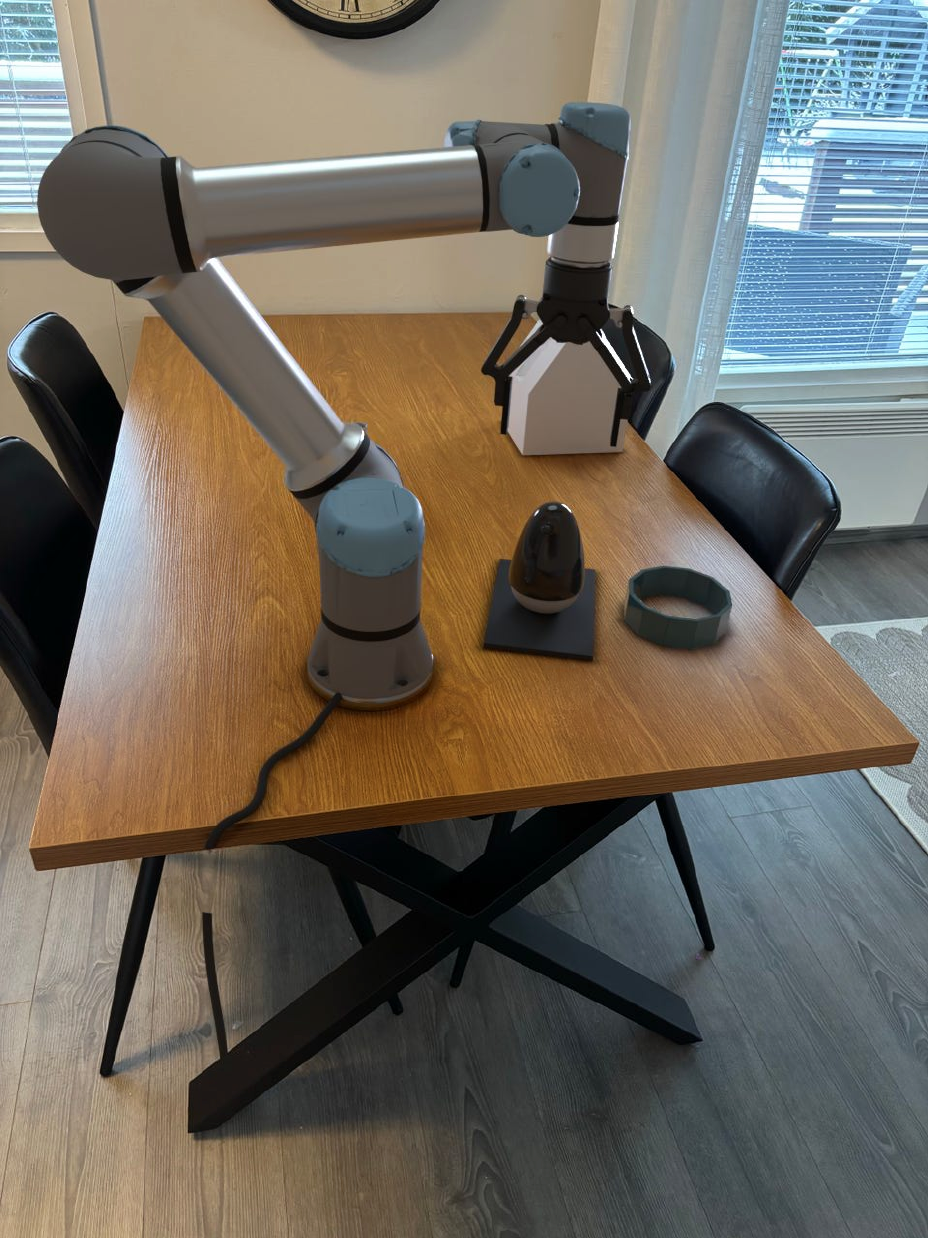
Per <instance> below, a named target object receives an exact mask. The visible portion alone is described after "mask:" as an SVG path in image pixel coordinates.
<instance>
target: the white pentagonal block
mask: <svg viewBox="0 0 928 1238" xmlns="http://www.w3.org/2000/svg"><path fill="white" fill-rule="evenodd" d="M542 324H543V323H542V322H541V320H540V318H539V319H538V320H537V322H536V323H535V325H534V326H533V327H532V329H531V330H530V331H529V333H528V335H527V336H526V337H525V338H524V340H523V342H522V343H521V344H520V346H521V345H522V344H523V343H524V342H526V341H527V340H528V339H529V338H530V337H531V336H532V335H533V334H534V333H535V332H536V330H537V329H538V328H539V327H540V326H541V325H542ZM601 330H602V332H603V333H604V330H603V327H602V328H601ZM604 335H605V333H604ZM605 337H606V335H605ZM606 338H607V337H606ZM509 376H511V377H513V381H512V392H511V403H510V415H509V426H508V430H507V434H509V437H511V440H512V441H513V442H514V444H515V446H516V447H517V449H518V450H519V452H520V454H521V456H543V455H570V454H571V455H573V454H574V455H575V454H599V453H600V454H603V453H622V452H624V446H625V439H626V433H627V426H628V420H629V419H628V420H626V419H620V426H619V432H618V439H617V445H616V447H613V446H610V437H611V431H612V424H613V418H614V411H615V404H616V398H617V391H618V388H621V386H620V385H619V383H618V382H617V380H616V379H615V377H614V376H613V374H612V373H611V371H610V370H609V368H608V367H607V365H606V364H605V362H604V361H603V359H602V358H601V356H600V355H599V353H598V352H597V351H596V350H595V349H594V347H593V346H592V344H591V343H590V341H589V342H587V343H584V344H583V345H577V344H574V343H571V342H566V343H557V342H556V341H555V340H553V339H552V338H551V337H550V338H549V339H548V340H547V341H546V342H545V343H544V344H543V345H541V346H540V347H539V348H538V349H537V350H535V351H534V352H533V353H532V354H531V355H530V356H529V357H528V358H527V359H526V360H525V361H524V362H523V363H522V364H521V365H520V366H519V367H518V368H517V369H516V370H515V371H514V372H512V373H511V374H510V375H509Z"/></svg>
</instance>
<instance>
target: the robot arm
mask: <svg viewBox="0 0 928 1238" xmlns="http://www.w3.org/2000/svg"><path fill="white" fill-rule="evenodd" d="M631 124H632V119H631V115H630V112H629V111H628V110H627V109H626V108H624V107H622V106H620V105H616V104H610V103H604V102H589V101H580V102H578V101H577V102H575V101H571V102H566V103H565V104H564V105H563V106H562V107H561V109H560V115H559V117H558V118H557V122H553V123H552V122H551V123H545V124H543V123H542V124H540V123H524V122H523V123H521V122H506V121H505V122H504V121H489V120H488V121H487V120H483V119H476V120H470V121H469V120H464V121H463V120H462V121H454V122H453V123H451V124H450V125H449V127H448V128H447V130H446V133H445V137H444V143H443V147H433V148H421V149H407V150H397V151H384V152H375V153H374V152H372V153H360V154H348V155H335V156H323V157H313V158H312V157H311V158H301V159H286V160H276V161H263V162H262V161H261V162H252V163H251V162H249V163H239V164H238V163H237V164H228V165H227V164H226V165H225V164H224V165H213V166H202V167H196V166H194V165H193V164H191V163H190V162H188V161H187V160H186V159H185V158H184V157H182V156H181V155H177V156H169V155H168V154H167V153H166V152H165V150H164V149H163V148H162V147H161V146H159V144H158V143H156V142H155V141H154V140H153V139H152V138H150V137H149V136H147V135H146V134H144V133H142V132H140V131H138V130H136V129H133V128H130V127H126V126H121V125H100V126H99V125H98V126H95V127H94V126H93V127H90V128H87V129H85V130H84V131H82V132H81V133H79V134H77V135H75V136H72V138H71V139H70V141H68V142H67V143H65V145H64V146H62V148H61V150H60V152H59V153H58V154H57V155H56V156H55V157H54V158H53V159H52V161H50V163H49V164H48V166H46V167H45V170H44V171H43V174H42V175H41V178H40V182H39V184H38V189H37V198H36V205H37V213H38V218H39V223H40V226H41V229H42V230H43V232H44V234H45V237H46V239H47V240H48V242H49V244H50V245H51V246H52V248H53V249H54V251H56V252H57V254H58V255H59V256H60V257H61V258H62V259H63V260H64V261H66V263H68V264H69V265H70V266H71V267H73V268H75V269H77V270H79V271H80V272H81V273H84V274H87V275H89V276H92V277H94V278H99V279H102V280H103V279H104V280H110V281H112V282H113V283H114V285H115V286H116V287H117V289H119V291H121V293H122V294H123V295H124V296H125V297H129V298H135V299H142V300H144V301H146V302H148V303H149V304H150V305H151V306H152V307H153V309H154V310H155V312H157V314H158V315H159V316H160V318H162V320H163V321H164V322H165V323H166V325H167V326H168V327H169V328H170V330H172V332H173V333H174V334H175V336H177V338H178V339H179V340H180V341H181V342H182V344H183V345H184V346H185V348H186V349H187V350H188V351H189V353H191V354H192V356H193V357H194V358H195V360H196V361H197V362H198V363H199V365H200V366H202V368H203V369H204V370H205V371H206V373H207V374H208V375H209V377H211V379H212V380H213V381H214V383H215V384H216V385H217V386H218V387H219V388H220V390H222V392H223V393H224V394H225V396H226V397H227V398H228V399H229V400H230V401H231V403H232V404H233V405H234V406H235V408H236V409H237V410H238V411H239V412H240V413H241V415H242V416H243V417H244V419H245V420H246V421H247V422H248V424H249V425H251V427H252V428H253V429H254V431H256V433H257V434H258V435H259V437H261V439H262V440H263V441H264V442H265V444H266V445H267V446H268V447H269V449H270V450H271V451H272V452H273V453H274V455H275V456H276V458H278V459H279V461H280V462H281V463H282V464H283V465H284V474H283V485H284V486H285V488H286V489H287V490H288V492H290V494H291V495H292V496H293V497H294V499H296V500H297V502H298V503H299V504H300V506H301V507H302V508H303V510H305V511H306V513H307V514H308V515H309V516H310V518H311V520H312V521H313V524H314V531H315V538H316V539H315V540H316V546H317V554H318V565H319V589H320V590H319V593H320V616H321V617H320V621H319V624H318V627H317V629H316V632H315V635H314V637H313V641H312V643H311V646H310V649H309V651H308V655H307V659H306V668H307V679H308V683H309V684H310V687H311V688H312V689H313V690H314V692H315V693H316V694H317V695H319V697H321V698H322V699H324V700H326V701H327V703H326V705H325V706H324V707H323V709H322V710H321V711H320V713H319V714H318V715H317V716H316V718H315V720H314V721H313V722H312V724H311V725H310V726H309V727H308V728H307V729H306V730H305V731H304V733H302V735H300V736H299V737H297V738H296V739H295V740H293V741H291V742H290V743H288V744H286V745H285V746H282V747H281V748H280V749H278V750H277V751H275V752H274V753H272V754H271V755H270V756H269V757H268V758H267V760H266V761H264V763H263V765H262V766H261V769H260V771H259V774H258V779H257V786H256V790H255V793H254V796H253V798H252V799H251V801H250V802H249V804H247V805H246V806H245V807H244V808H242V809H240V810H238V811H236V812H234V813H232V814H231V815H228V816H226V817H224V819H221V821H219V822H218V823H217V824H216V826H214V827H213V829H212V831H211V832H210V833H209V834H208V837H207V839H206V841H205V843H204V849H205V850H206V851H210V850H213V849H214V848H215V847H216V846H217V843H218V842H219V839H220V838H221V836H222V835H223V834H224V833H225V831H227V830H228V829H229V828H230V827H232V826H233V825H236V824H238V823H239V822H242V821H243V820H245V819H247V818H250V817H251V816H252V815H253V814H254V813H255V812H256V811H257V810H258V809H259V808H260V807H261V805H262V803H263V801H264V799H265V796H266V793H267V792H266V791H267V786H268V779H269V776H270V773H271V771H272V770H273V768H274V767H275V766H276V764H277V763H279V761H281V760H282V759H284V758H285V757H287V756H288V755H290V754H291V753H294V752H295V751H297V750H298V749H300V748H301V747H303V746H305V745H306V744H308V742H309V741H310V740H311V739H312V738H313V737H314V736H315V735H316V734H317V733H318V731H319V730H320V729H321V728H322V726H323V725H324V723H325V722H326V720H327V719H328V718H329V717H330V715H331V714H332V713H333V711H334V710H335V709H336V707H337V706H339V707H341V708H345V709H350V710H357V711H367V712H368V711H372V712H373V711H385V710H390V709H394V708H398V707H401V706H404V705H407V704H409V703H411V702H413V701H414V700H416V699H418V698H419V697H420V696H422V695H423V694H424V693H425V692H426V691H427V690H428V688H429V687H430V685H431V683H432V680H433V677H434V656H433V653H432V649H431V647H430V643H429V641H428V638H427V634H426V632H425V629H424V626H423V624H422V620H421V607H422V605H421V603H422V579H423V557H424V553H423V552H424V545H425V539H426V524H425V520H424V511H423V507H422V505H421V503H420V501H419V499H418V498H417V497H416V495H414V493H413V492H412V491H410V490H409V489H408V488H406V487H405V486H404V485H405V484H404V480H403V477H402V476H401V475H402V473H401V471H400V469H399V467H398V465H397V463H396V462H395V461H394V459H393V457H392V456H391V455H390V454H389V453H388V452H387V451H386V450H385V449H384V448H383V447H382V446H380V445H378V444H377V443H375V442H374V441H373V440H372V439H371V438H370V436H369V435H368V434H367V432H366V433H365V431H364V430H363V428H362V427H361V426H360V425H358V424H356V423H352V422H346V421H342V420H341V419H340V418H339V416H338V415H337V414H336V412H335V410H333V408H332V407H331V406H330V405H329V403H328V402H327V400H326V399H325V398H324V397H323V395H322V394H321V393H320V391H319V390H318V388H317V387H316V385H315V384H314V383H313V382H312V381H311V379H310V378H309V376H307V374H306V373H305V372H304V370H303V369H302V368H301V366H300V365H299V363H298V362H297V361H296V359H295V358H294V357H293V356H292V354H291V353H290V352H289V350H288V349H287V348H286V346H285V344H283V342H282V341H281V340H280V339H279V337H278V336H277V335H276V333H275V332H274V331H273V329H272V328H271V326H270V325H269V324H268V323H267V321H266V320H265V319H264V317H263V316H262V315H261V313H260V312H259V311H258V309H257V308H256V307H255V306H254V304H253V303H252V302H251V300H250V299H249V298H248V297H247V295H246V294H245V292H244V291H243V290H242V288H241V287H240V286H239V284H238V283H237V282H236V280H235V279H234V278H233V277H232V275H231V274H230V273H229V271H228V270H227V268H226V267H225V266H224V265H223V263H222V262H221V261H220V260H219V258H228V257H229V258H230V257H238V256H239V257H240V256H248V255H251V256H252V255H261V254H268V253H280V252H281V253H282V252H289V251H290V252H293V251H301V250H311V249H320V248H321V249H322V248H331V247H332V248H333V247H341V246H352V245H361V244H371V243H382V242H394V241H403V240H413V239H422V238H434V237H444V236H454V235H462V234H473V233H490V232H501V231H514V232H516V233H517V234H521V235H524V236H528V237H531V238H543V237H547V245H546V253H547V255H549V258H547V259H546V261H545V266H544V276H543V285H542V295H541V298H540V299H539V301H538V300H533V299H529V298H527V297H526V296H525V295H523V294H519V295H518V296H517V297H516V299H515V300H514V303H513V309H512V314H511V316H510V318H509V320H507V323H506V325H505V326H504V328H503V329H502V331H501V333H500V334H499V336H498V337H497V339H496V341H495V343H494V344H493V346H492V348H491V349H490V351H489V353H488V354H487V355H486V357H485V359H484V361H483V363H482V365H481V368H480V372H481V374H482V375H484V376H489V377H491V378H493V380H494V383H495V384H494V395H493V403H494V406H497V407H502V408H501V421H500V430H499V431H500V432H499V435H504V436H506V435H507V434H508V431H507V430H508V426H509V415H510V403H511V392H512V381H513V377H511V376H509V375H510V374H511V373H512V372H514V371H515V370H516V369H517V368H518V367H519V366H520V365H521V364H522V363H523V362H524V361H525V360H526V359H527V358H528V357H529V356H530V355H531V354H532V353H533V352H534V351H535V350H537V349H538V348H539V347H540V346H541V345H543V344H544V343H545V342H546V341H547V340H548V339H549V338H550V337H551V338H552V339H553V340H555V341H556V342H557V343H566V342H571V343H574V344H577V345H583V344H584V343H587V342H589V341H590V343H591V344H592V346H593V347H594V349H595V350H596V351H597V352H598V353H599V355H600V356H601V358H602V359H603V361H604V362H605V364H606V365H607V367H608V368H609V370H610V371H611V373H612V374H613V376H614V377H615V379H616V380H617V382H618V383H619V385H620V386H621V388H618V391H617V398H616V404H615V411H614V418H613V424H612V431H611V437H610V446H613V447H616V445H617V439H618V432H619V426H620V419H626V420H629V419H630V418H631V415H632V411H633V410H632V409H633V403H634V397H635V395H636V394H637V393H640V392H645V393H646V392H649V391H650V390H651V389H652V383H651V382H652V381H651V375H650V373H649V370H648V367H647V364H646V362H645V357H644V354H643V351H642V349H641V347H640V343H639V339H638V337H637V334H636V330H635V328H634V308H633V306H632V305H630V304H627V305H625V306H623V307H614V308H611V307H610V306H609V295H610V286H611V282H612V281H611V280H612V274H613V266H612V264H611V263H610V261H612V260H613V259H614V258H615V251H616V250H615V249H616V243H617V237H618V236H617V235H618V231H619V218H620V209H621V204H622V198H623V190H624V185H625V184H624V183H625V177H626V173H627V165H628V160H629V158H630V144H631V143H630V141H631ZM533 313H536V314H537V316H538V318H539V319H540V320H541V322H542V323H543V324H542V325H541V326H540V327H539V328H538V329H537V330H536V332H535V333H534V334H533V335H532V336H531V337H530V338H529V339H528V340H527V341H526V342H524V341H523V342H524V343H523V342H522V343H523V344H522V343H521V344H522V345H521V344H520V346H519V347H518V348H517V349H516V350H515V351H514V352H513V353H512V354H511V355H510V356H509V357H508V358H507V359H506V360H505V361H504V362H503V363H501V365H500V364H498V361H499V360H500V358H501V357H502V354H503V353H504V352H505V350H506V349H507V347H508V345H509V343H510V342H511V340H512V339H513V337H514V336H515V334H516V333H517V331H518V328H519V327H520V325H521V323H522V320H527V319H529V318H530V316H531V314H533ZM609 320H612V321H613V322H614V324H615V327H616V328H617V329H621V333H622V337H623V340H624V343H625V346H626V349H627V352H628V354H629V359H630V361H631V364H632V366H633V369H634V373H635V376H636V378H633V377H632V376H631V374H630V373H629V371H628V369H627V368H626V367H625V365H624V363H623V362H622V360H621V359H620V357H619V356H618V355H617V353H616V351H615V350H614V348H613V347H612V346H611V343H610V342H609V341H608V338H607V337H605V336H606V335H604V334H605V333H603V332H604V331H603V332H602V330H603V327H605V325H606V324H607V323H608V322H609ZM601 328H602V330H601ZM201 914H202V915H201V917H202V918H201V919H202V920H201V921H202V925H201V926H202V927H201V928H202V945H203V956H204V957H203V958H204V965H205V973H206V979H207V980H206V981H207V987H208V991H209V1000H210V1004H211V1009H212V1015H213V1020H214V1026H215V1032H216V1039H217V1040H216V1041H217V1046H218V1054H219V1062H220V1063H221V1064H226V1063H228V1062H229V1060H230V1059H229V1047H228V1041H227V1039H228V1038H227V1032H226V1026H225V1020H224V1019H225V1018H224V1014H223V1007H222V1002H221V1001H222V1000H221V996H220V990H219V982H218V977H217V970H216V961H215V950H214V935H213V933H214V931H213V913H212V912H211V913H210V912H205V911H202V912H201Z"/></svg>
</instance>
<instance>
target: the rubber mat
mask: <svg viewBox="0 0 928 1238" xmlns="http://www.w3.org/2000/svg"><path fill="white" fill-rule="evenodd" d="M511 560H512V559H507V558H499V561H498V566H497V571H496V577H495V581H494V586H493V592H492V597H491V603H490V608H489V612H488V613H489V614H488V617H487V618H488V619H487V623H486V629H485V633H484V639H483V646H482V649H487V650H488V649H489V650H497V651H505V652H513V653H521V654H530V655H539V656H546V657H555V658H556V657H557V658H564V659H571V660H581V661H590V662H593V659H594V637H595V636H594V634H595V630H594V629H595V593H596V587H595V586H596V569H594V568H586V567H585V580H584V587H583V589H582V591H581V592H580V593H579V595H578V597H577V598H576V600H575V601H574V603H573V604H572V605H571V606H569V607H568V608H566V609H565V610H563V611H560V612H557V613H550V614H544V613H538V612H534V611H531V610H529V609H527V608H525V607H524V606H523V605H521V604H520V603H519V602H518V600H517V599H516V598H515V596H514V594H513V591H512V588H511V585H510V583H509V579H508V576H509V568H510V564H511Z"/></svg>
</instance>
